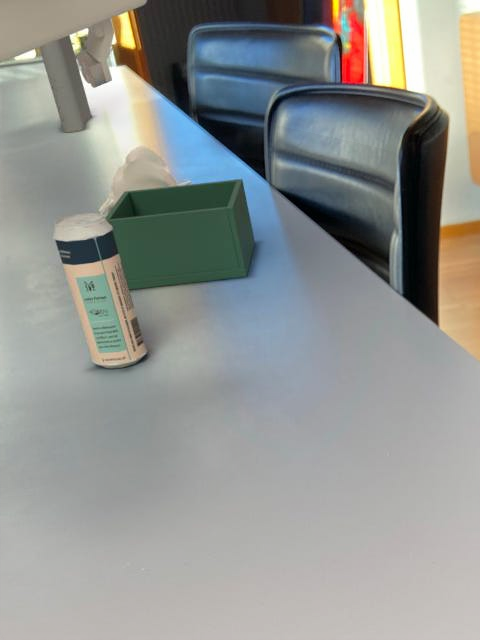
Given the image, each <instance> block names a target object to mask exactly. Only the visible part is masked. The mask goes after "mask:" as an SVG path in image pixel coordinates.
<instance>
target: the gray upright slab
mask: <svg viewBox="0 0 480 640" xmlns="http://www.w3.org/2000/svg"><path fill="white" fill-rule="evenodd" d="M38 49H39V51H40V54H41V55H40V56H41V58H42V61H43V62H42V63H43V65H44V69H45V72H46V76H47V79H48V83H49V86H50V89H51V92H52V96H53V99H54V104H55V106H56V109H57V113H58V116H59V119H60V124H61V127H62V130H63V132H64V133H75V132H81V131H84V130H85V124H86V123H87V122H88V121H89V120H90V119H91V118H92V117H93V116H92V112H91V109H90V105H89V102H88V97H87V94H86V91H85V87H84V84H83V83H84V82H83V80H82V76H81V75H82V74H81V71H80V68H79V64H78V60H77V56H76V54H75V50H74V47H73V43H72V40H71V35H69V36H66V37H64V38H61V39H59V40H56V41H54V42H51V43H49V44H46V45H44V46H41V47H39V48H38Z"/></svg>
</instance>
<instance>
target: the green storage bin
mask: <svg viewBox="0 0 480 640" xmlns="http://www.w3.org/2000/svg"><path fill="white" fill-rule="evenodd" d="M104 217H105V219H106V220H107V221H108V223H109V224H110V225H112V227H113V229H112V231H113V234H114V238H115V242H116V245H117V249H118V252H119V256H120V259H121V263H122V266H123V270H124V274H125V277H126V281H127V284H128V288H129V291H131V290H139V289H140V290H141V289H148V288H149V289H150V288H157V287H166V286H176V285H185V284H194V283H201V282H202V283H203V282H212V281H219V280H220V281H221V280H229V279H239V278H246V277H247V276H248V272H249V269H250V265H251V261H252V257H253V253H254V252H253V251H254V249H255V244H256V241H255V236H254V230H253V225H252V220H251V216H250V210H249V206H248V201H247V196H246V190H245V185H244V180H243V179H242V178H239V179H229V180H221V181H219V180H218V181H211V182H202V183H201V182H200V183H193V184H192V183H190V184H188V185H181V186H172V187H163V188H153V189H144V190H134V191H125V192H124V193H123V194H122V196H121V197H120V198H119V200H118V201H117V202H116V204H115V205H114V207H113V208H112V209H111V211H110V212H109V213H108V212H107V215H105V216H104Z"/></svg>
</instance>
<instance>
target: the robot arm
mask: <svg viewBox="0 0 480 640" xmlns="http://www.w3.org/2000/svg"><path fill="white" fill-rule="evenodd" d="M147 2H148V0H0V64H1V63H4V62H6V61H9V60H12V59H14V58H16V57H19V56H21V55H24V54H27V53H29V52H31V51H35V50H37V49H40V48H39V47H41V46H44V45H46V44H49V43H51V42H54V41H56V40H59V39H61V38H64V37H66V36H69V35H70V36H71V35H74V34H76V33H78V32H81V31H83V30H86V29H87V30H88V31H87V38H86V46H85V52H82V53H80V54H78V55H76V60H77V64H78V66H80V67H81V69H80V73H81V75H82V77H83V79H84V80H85V82H86V83H87V84H89V85H90V86H91V87H92V88H93V89H96V88H98V87H100V86H102V85H105V84H108V83H109V82H112V81H113V77H112V74H111V70H110V66H109V64H108V60H109V56H110V52H111V48H112V44H113V39H114V35H115V30H114V29H115V28H114V26H113V22H112V19H114V18H115V17H118V16H121V15H123V14H125V13H128V12H131V11H133V10H135V9H138V8H141V7H143V6H145V5H146V4H147Z"/></svg>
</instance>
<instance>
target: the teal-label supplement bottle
mask: <svg viewBox="0 0 480 640" xmlns="http://www.w3.org/2000/svg"><path fill="white" fill-rule="evenodd" d="M105 217H106V216H105V215H104V216H103V215H102V214H100V212H87V213H77V214H73V215H72V214H71V215H68V216H64V217H62V218H60V219H57V220H56V221H54V223H55V225H54V230H53V235H52V238H53V240H54V241H55V244H56V247H57V251H58V254H59V257H60V260H61V264H62V266H63V270H64V273H65V276H66V280H67V282H68V286H69V289H70V292H71V295H72V298H73V302H74V304H75V308H76V311H77V314H78V317H79V320H80V321H79V322H80V324H81V326H82V331H83V333H84V336H85V340H86V342H87V346H88V350H89V353H90V355H91V361H92V363H93V364H94V365H97V366H100V367H102V368H105V369H120V368H121V369H122V368H127V367H129V366H132V365H135V364H137V363H139V362H140V361H141V360H142V358H143V357H144V356H145V355H147V352H148V349H147V347H146V345H145V341H144V338H143V335H142V331H141V327H140V324H139V320H138V316H137V313H136V309H135V306H134V301H133V298H132V295H131V292H130V291H131V290H129V288H128V284H127V281H126V277H125V274H124V270H123V266H122V263H121V259H120V256H119V252H118V249H117V245H116V242H115V238H114V234H113V231H112V229H113V227H112V225H110V224H109V223H108V221H107V220H106V219H105Z"/></svg>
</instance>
